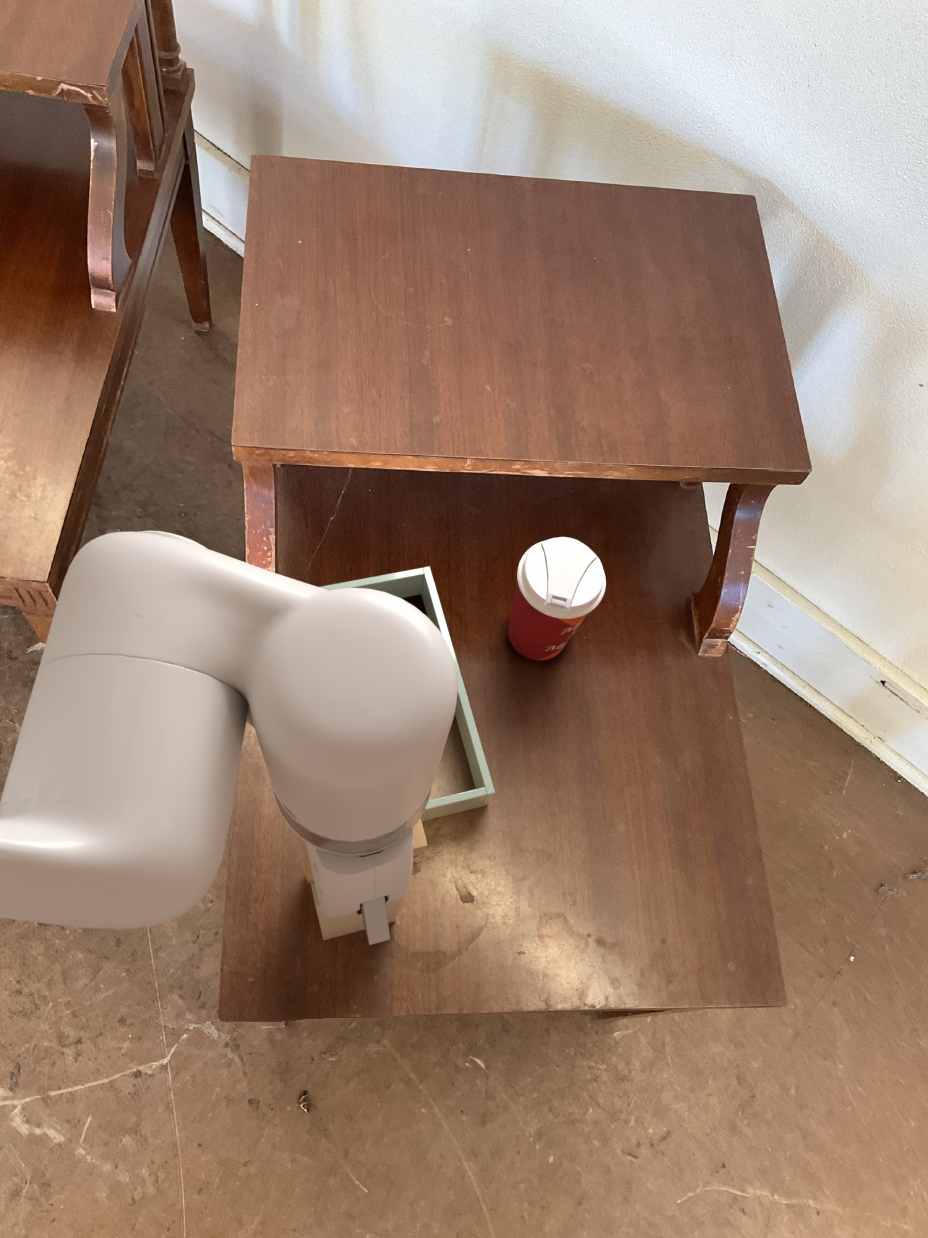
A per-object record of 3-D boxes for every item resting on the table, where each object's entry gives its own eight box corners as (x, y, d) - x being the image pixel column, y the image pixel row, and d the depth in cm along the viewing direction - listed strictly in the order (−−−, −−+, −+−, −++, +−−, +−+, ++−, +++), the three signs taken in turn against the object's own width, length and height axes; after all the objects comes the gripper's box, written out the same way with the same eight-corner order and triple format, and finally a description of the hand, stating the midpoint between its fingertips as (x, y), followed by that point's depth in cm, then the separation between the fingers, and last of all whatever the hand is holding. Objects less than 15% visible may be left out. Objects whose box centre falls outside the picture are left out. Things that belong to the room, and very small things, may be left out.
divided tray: (361, 840, 79) (361, 825, 74) (310, 615, 88) (308, 588, 83) (486, 808, 81) (495, 792, 76) (425, 593, 90) (429, 566, 85)
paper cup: (566, 683, 87) (602, 621, 75) (488, 664, 87) (511, 598, 75) (579, 613, 91) (616, 542, 78) (504, 594, 91) (529, 520, 78)
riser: (323, 942, 75) (315, 907, 57) (309, 870, 77) (297, 815, 59) (394, 923, 76) (408, 883, 58) (378, 853, 79) (386, 793, 61)
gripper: (242, 626, 45) (271, 741, 61) (308, 975, 38) (321, 998, 55) (391, 597, 46) (380, 717, 63) (479, 928, 40) (441, 964, 56)
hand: (352, 847), depth 58 cm, fingers closed on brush, 3 cm apart
